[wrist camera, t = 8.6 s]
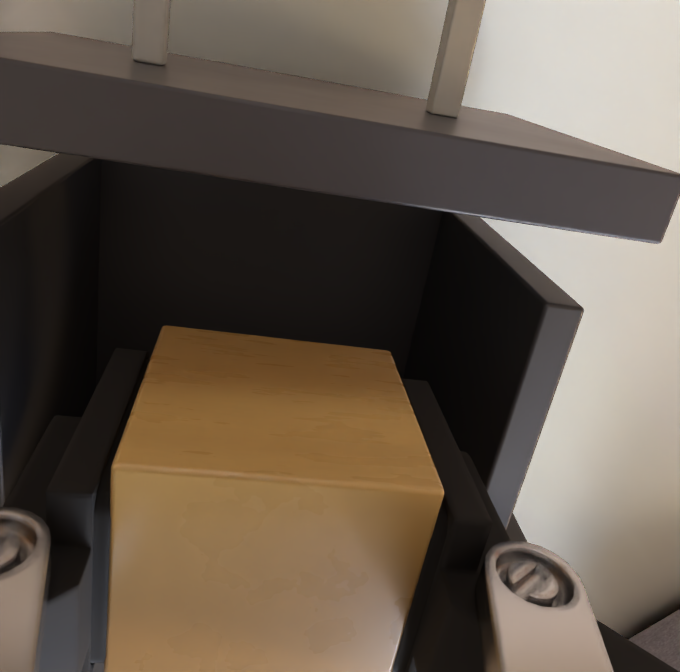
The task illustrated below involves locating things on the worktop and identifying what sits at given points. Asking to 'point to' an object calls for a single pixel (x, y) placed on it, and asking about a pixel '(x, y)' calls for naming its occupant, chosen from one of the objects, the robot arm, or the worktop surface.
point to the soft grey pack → (662, 640)
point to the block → (266, 509)
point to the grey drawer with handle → (291, 228)
